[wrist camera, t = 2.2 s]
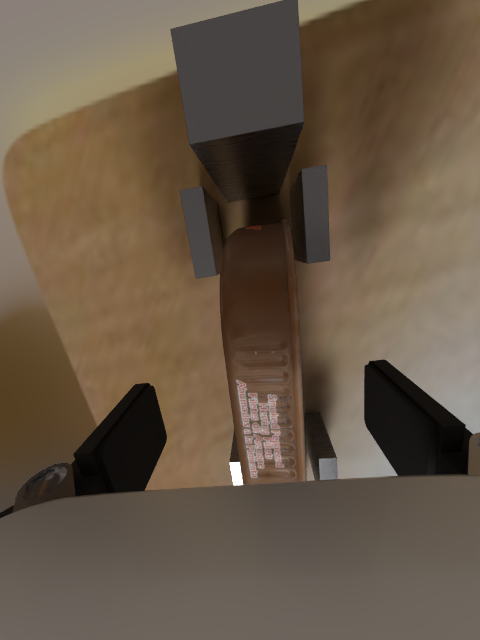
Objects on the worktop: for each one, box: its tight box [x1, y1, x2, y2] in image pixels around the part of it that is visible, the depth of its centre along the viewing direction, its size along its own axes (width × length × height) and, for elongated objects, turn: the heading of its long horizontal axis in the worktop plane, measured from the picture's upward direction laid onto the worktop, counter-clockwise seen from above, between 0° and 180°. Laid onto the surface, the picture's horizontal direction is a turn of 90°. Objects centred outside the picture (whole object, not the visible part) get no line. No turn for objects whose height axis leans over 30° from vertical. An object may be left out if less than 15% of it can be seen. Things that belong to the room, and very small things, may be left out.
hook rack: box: [171, 0, 338, 485], centre depth 13 cm, size 6×23×8 cm, turn 8°
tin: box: [220, 219, 307, 485], centre depth 12 cm, size 15×3×8 cm, turn 7°
